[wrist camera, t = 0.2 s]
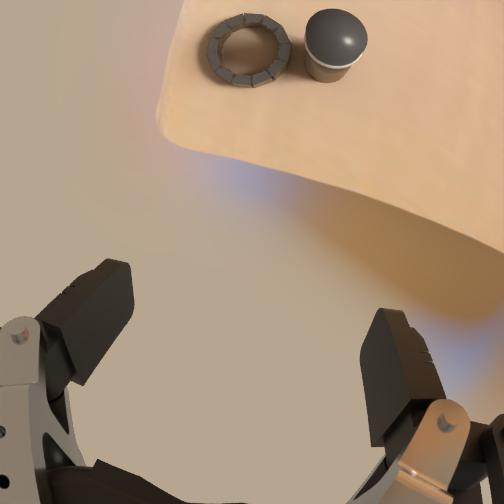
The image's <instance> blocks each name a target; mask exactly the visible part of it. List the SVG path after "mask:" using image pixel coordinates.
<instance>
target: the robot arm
mask: <svg viewBox="0 0 504 504" xmlns="http://www.w3.org/2000/svg"><path fill="white" fill-rule="evenodd" d="M133 310H134V296H133V287H132V277H131V268H130V265H129V264H128V263H126V262H122V261H118V260H113V259H105V260H104V261H103V262H102V263H101V264H100V265H98V266H97V267H96V268H95V269H94V270H91V271H88V272H86V273H84V274H82V275H80V276H79V277H77V278H76V279H75V280H74V281H73V282H72V283H71V284H70V286H68V287H66V288H65V289H64V290H63V291H62V294H61V293H60V294H59V295H58V296H57V297H56V298H55V299H54V300H53V301H52V302H50V303H49V304H48V305H47V307H46V308H44V309H43V310H42V311H41V312H40V313H39V314H38V315H37V316H36V317H35V318H32V317H26V316H24V317H17V318H14V319H12V320H10V321H9V322H7V323H6V324H5V325H4V326H3V327H0V504H203V503H187V502H184V501H181V500H179V499H178V498H176V497H174V496H172V495H170V494H168V493H167V492H165V491H163V490H161V489H160V488H158V487H156V486H155V485H153V484H151V483H150V482H148V481H146V480H145V479H143V478H142V477H140V476H137V475H135V474H132V473H130V472H127V471H125V470H122V469H120V468H117V467H115V466H112V465H110V464H108V463H105V462H103V461H101V460H99V459H97V461H96V462H95V465H94V466H93V467H87V466H86V465H85V462H84V459H83V456H82V454H81V452H80V450H79V448H78V446H77V443H76V439H75V434H74V428H73V422H72V416H71V409H70V401H69V393H68V389H67V387H66V386H67V385H68V383H69V382H70V381H73V382H75V383H77V384H79V385H81V386H84V384H85V383H86V381H87V380H88V378H89V377H90V375H91V374H92V372H93V371H94V369H95V368H96V367H97V365H98V364H99V362H100V360H101V359H102V358H103V356H104V355H105V354H106V352H107V351H108V349H109V348H110V346H111V345H112V344H113V342H114V341H115V339H116V338H117V336H118V335H119V334H120V332H121V331H122V330H123V328H124V327H125V325H126V324H127V323H128V321H129V320H130V318H131V316H132V314H133ZM428 352H429V351H428V348H427V346H426V343H425V341H424V339H423V338H422V336H421V335H420V334H419V333H418V332H417V331H416V330H415V329H414V328H411V327H410V326H409V324H408V322H407V319H406V317H405V315H404V312H403V311H401V310H393V309H386V308H379V309H378V310H377V312H376V314H375V317H374V319H373V322H372V324H371V326H370V329H369V331H368V333H367V335H366V338H365V340H364V342H363V344H362V347H361V352H360V366H361V372H362V379H363V385H364V392H365V399H366V406H367V414H368V422H369V431H370V439H371V447H385V455H384V456H383V457H382V458H381V460H380V461H379V462H378V464H377V465H376V467H375V468H374V469H373V471H372V472H371V473H370V475H369V476H368V477H367V479H366V480H365V481H364V482H363V484H362V485H361V486H360V488H359V489H358V490H357V491H356V493H355V494H354V495H353V496H352V497H351V499H350V500H349V501H348V502H347V503H346V504H483V502H482V494H481V487H480V482H481V481H482V480H484V479H485V478H486V477H488V478H489V484H490V490H491V497H492V504H504V414H501V415H499V416H497V418H495V419H494V420H493V421H492V423H491V424H490V425H486V424H481V423H477V422H473V421H470V419H469V417H468V414H467V413H466V411H465V410H464V408H463V407H462V406H460V405H459V404H458V403H456V402H454V401H452V400H449V399H447V398H446V395H445V392H444V390H443V387H442V384H441V381H440V379H439V376H438V373H437V371H436V368H435V365H434V363H432V361H433V360H432V358H431V355H430V354H429V353H428ZM225 504H246V503H225Z"/></svg>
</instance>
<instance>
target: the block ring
mask: <svg viewBox="0 0 504 504" xmlns="http://www.w3.org/2000/svg"><path fill="white" fill-rule="evenodd" d="M245 27H257V28H263V29H265V30H267V31H268V32H270V33H271V34H273V35H274V36H275V37H276V39H277V41H278V44H279V50H278V56H277V59H276V60H275V61H274V62H273V63H272V64H271V66H270V67H269V68H268V69H267V70H265V71H262V72H260V73H257V74H254V75H252V76H249V75H239V74H234V73H232V72H231V71H229V70H228V69H227V68H226V67H225V64H224V62H223V60H222V57H221V54H222V48H223V43H224V42H225V41H226V40H227V38H228V37H229V36H230V35H231V34H232V33H233V32H235V31H237V30H240V29H243V28H245ZM211 36H212V37H210V38H209V43H208V48H207V57H208V60H209V62H210V64H211V67H212V69H213V71H214V72H215V73H216V74H217V75H219V76H220V77H222V78H223V79H225V80H226V81H228V82H229V83H231V84H232V85H234V86H242V87H250V88H254V87H255V88H256V87H259V86H262V85H265V84H267V83H270V82H273V79H274V80H276V79H277V78H278V77H279V76H280V74H281V73H282V72H283V71H284V70H285V69H286V68H287V65H288V64H289V58H290V52H291V44H290V41H289V39H288V37H287V34H286V32H285V30H284V28H283V27H282V25H280V24H279V23H277V22H276V21H274V20H272V19H271V18H269V17H268V16H266V15H265V16H264V15H261V14H248V13H244V15H243V14H240V15H237V16H235V17H232V18H230V19H227V20H225V23H224V22H222V23H221V24H220V25H219V26H218V27H217V29H216V30H215V31H214V32H213V33H212V34H211Z"/></svg>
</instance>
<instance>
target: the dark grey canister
mask: <svg viewBox="0 0 504 504" xmlns="http://www.w3.org/2000/svg"><path fill="white" fill-rule="evenodd" d="M367 39H368V38H367V32H366V29H365V27H364V26H363V24H362V23H361V21H360V20H359V19H358V18H356V17H355V16H354V15H352V14H350V13H349V12H346V11H343V10H340V9H325V10H321V11H319V12H317V13H315V14H314V15H313V16H312V17H311V18H310V19H309V21H308V23H307V26H306V32H305V37H304V42H305V67H306V70H307V72H308V73H309V74H310V76H311V77H313V78H314V79H316V80H317V81H320V82H324V83H332V82H336V81H338V80H339V79H341V78H342V77H343V76H344V75H345V73H346V72H347V71H348V70H349V68H350V67H351V66H352V65H353V64H354V63H355V62H356V61H357V60H358V59H359V58H360V56H361V55H362V52H363V51H364V50H365V48H366V45H367Z"/></svg>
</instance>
